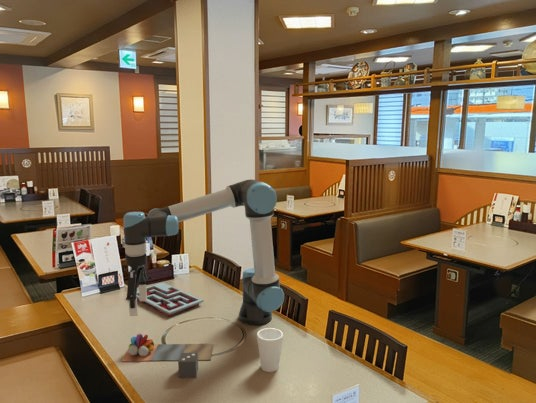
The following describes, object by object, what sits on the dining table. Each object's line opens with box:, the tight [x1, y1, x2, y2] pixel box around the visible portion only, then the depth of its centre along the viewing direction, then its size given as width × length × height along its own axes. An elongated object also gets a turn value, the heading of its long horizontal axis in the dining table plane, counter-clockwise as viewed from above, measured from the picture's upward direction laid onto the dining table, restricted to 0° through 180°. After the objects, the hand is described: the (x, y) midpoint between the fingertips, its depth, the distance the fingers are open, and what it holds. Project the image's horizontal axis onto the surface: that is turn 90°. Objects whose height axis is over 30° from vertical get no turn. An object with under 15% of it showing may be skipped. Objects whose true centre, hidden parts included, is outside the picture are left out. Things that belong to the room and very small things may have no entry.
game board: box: [121, 343, 215, 362], centre depth 167 cm, size 33×12×1 cm, turn 92°
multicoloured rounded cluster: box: [127, 333, 155, 356], centre depth 166 cm, size 8×10×7 cm
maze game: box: [136, 282, 205, 317], centre depth 215 cm, size 35×20×3 cm, turn 48°
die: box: [177, 353, 199, 379], centre depth 153 cm, size 6×6×6 cm
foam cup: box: [256, 327, 284, 373], centre depth 156 cm, size 10×9×13 cm
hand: (138, 307), depth 163 cm, fingers open, 13 cm apart
